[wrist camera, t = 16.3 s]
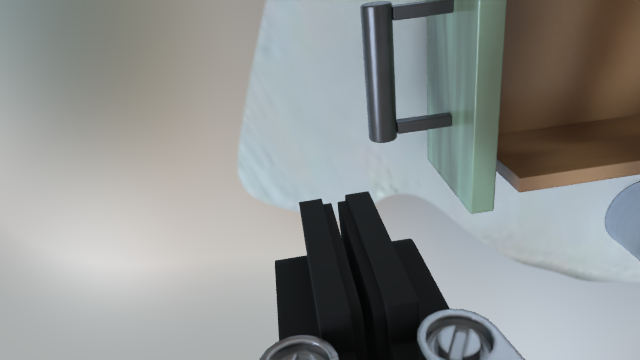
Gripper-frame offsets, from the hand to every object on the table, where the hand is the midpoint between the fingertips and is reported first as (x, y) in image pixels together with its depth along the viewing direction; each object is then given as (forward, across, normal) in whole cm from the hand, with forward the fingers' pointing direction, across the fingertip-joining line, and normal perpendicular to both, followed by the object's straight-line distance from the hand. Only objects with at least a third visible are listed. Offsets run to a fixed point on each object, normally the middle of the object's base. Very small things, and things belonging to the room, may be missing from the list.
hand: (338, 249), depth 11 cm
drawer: (+16, -13, -1) cm, 21 cm away
